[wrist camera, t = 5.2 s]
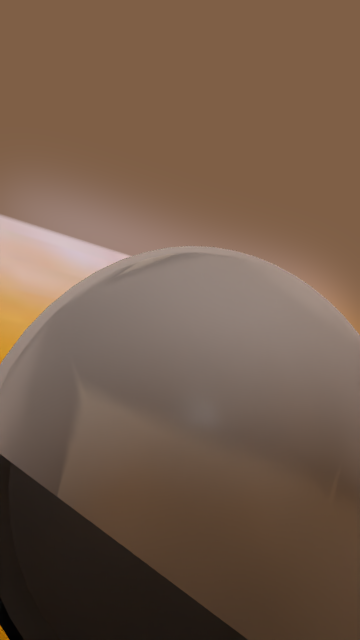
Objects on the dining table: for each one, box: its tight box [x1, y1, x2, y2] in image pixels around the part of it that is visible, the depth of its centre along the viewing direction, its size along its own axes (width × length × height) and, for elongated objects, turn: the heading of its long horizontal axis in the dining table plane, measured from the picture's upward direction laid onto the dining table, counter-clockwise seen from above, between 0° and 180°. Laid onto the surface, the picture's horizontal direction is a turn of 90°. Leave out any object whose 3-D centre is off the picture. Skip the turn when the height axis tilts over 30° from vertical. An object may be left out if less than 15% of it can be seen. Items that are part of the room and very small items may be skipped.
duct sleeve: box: [0, 246, 360, 640], centre depth 8 cm, size 5×5×13 cm
